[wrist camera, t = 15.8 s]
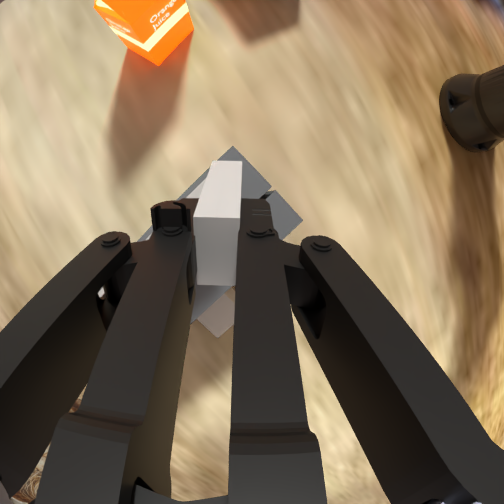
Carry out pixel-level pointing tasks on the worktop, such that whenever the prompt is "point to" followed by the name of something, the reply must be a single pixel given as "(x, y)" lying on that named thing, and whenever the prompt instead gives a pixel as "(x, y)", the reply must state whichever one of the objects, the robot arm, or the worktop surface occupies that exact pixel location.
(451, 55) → the worktop surface
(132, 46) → the orange juice
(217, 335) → the button
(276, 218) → the console
